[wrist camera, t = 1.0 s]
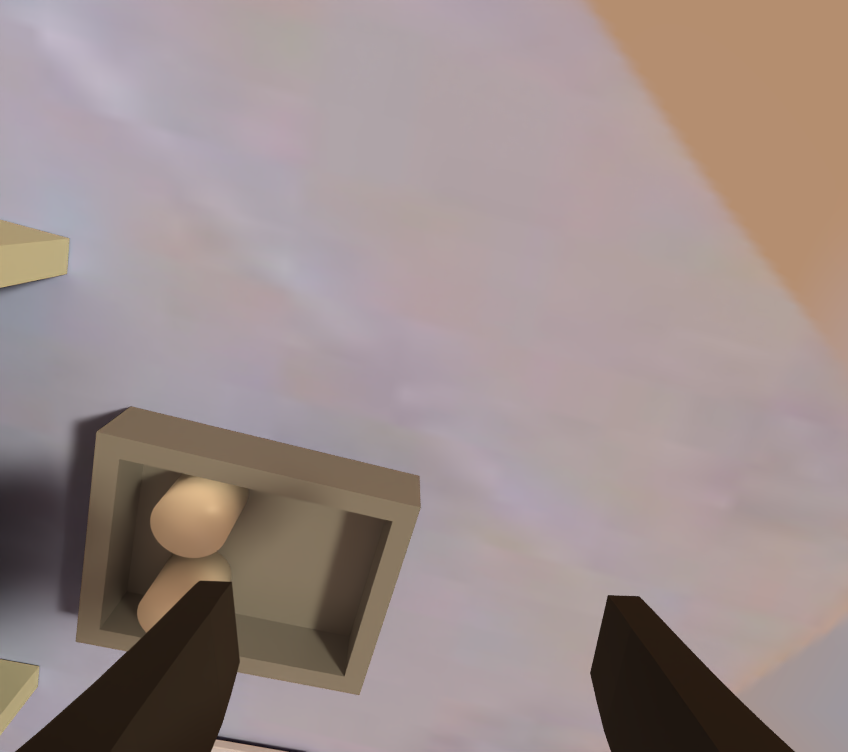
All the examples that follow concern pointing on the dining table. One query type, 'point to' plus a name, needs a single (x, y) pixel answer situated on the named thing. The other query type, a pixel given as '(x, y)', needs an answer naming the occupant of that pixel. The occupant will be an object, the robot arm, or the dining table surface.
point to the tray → (244, 543)
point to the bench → (3, 266)
